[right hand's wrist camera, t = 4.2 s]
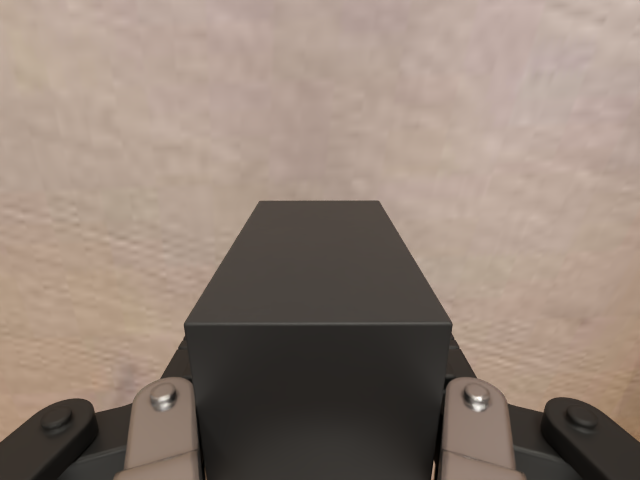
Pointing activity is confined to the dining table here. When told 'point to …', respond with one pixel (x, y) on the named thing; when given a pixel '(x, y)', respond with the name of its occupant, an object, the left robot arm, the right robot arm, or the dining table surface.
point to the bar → (318, 350)
